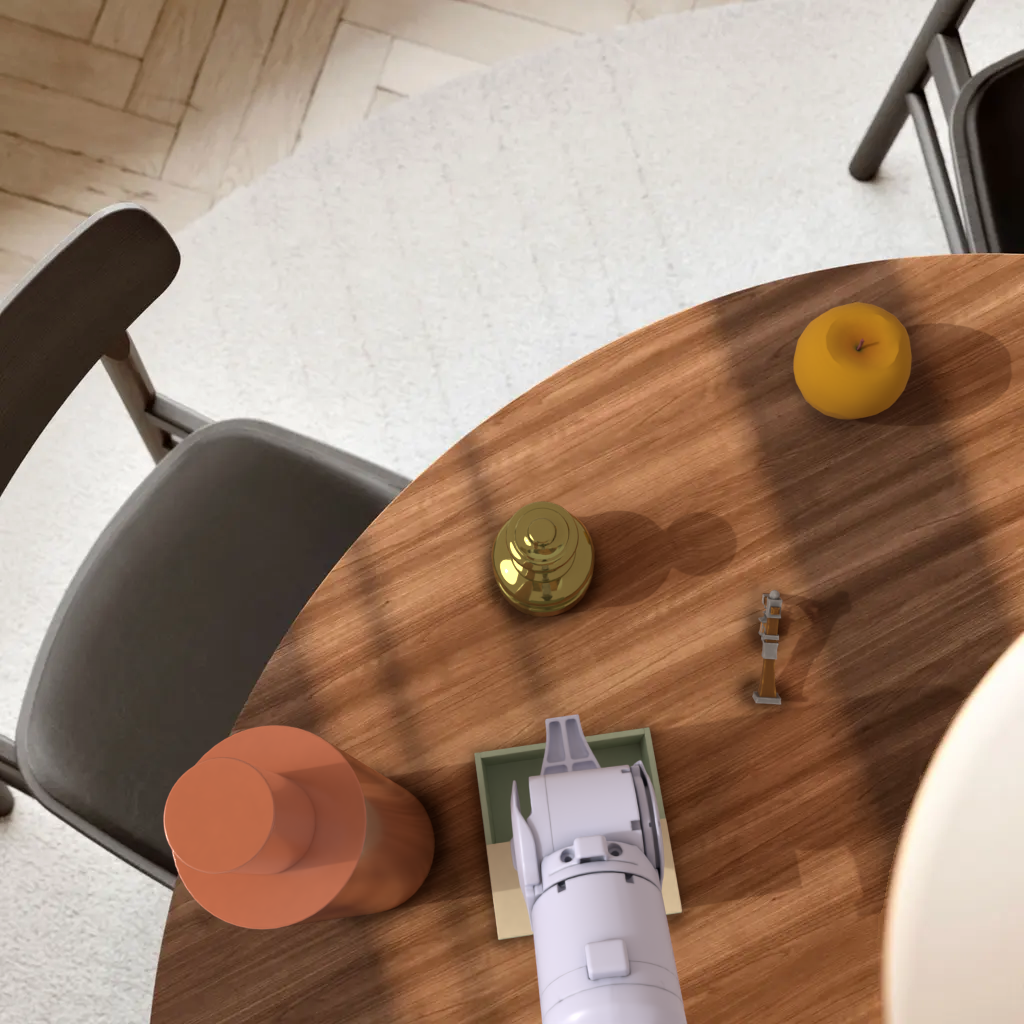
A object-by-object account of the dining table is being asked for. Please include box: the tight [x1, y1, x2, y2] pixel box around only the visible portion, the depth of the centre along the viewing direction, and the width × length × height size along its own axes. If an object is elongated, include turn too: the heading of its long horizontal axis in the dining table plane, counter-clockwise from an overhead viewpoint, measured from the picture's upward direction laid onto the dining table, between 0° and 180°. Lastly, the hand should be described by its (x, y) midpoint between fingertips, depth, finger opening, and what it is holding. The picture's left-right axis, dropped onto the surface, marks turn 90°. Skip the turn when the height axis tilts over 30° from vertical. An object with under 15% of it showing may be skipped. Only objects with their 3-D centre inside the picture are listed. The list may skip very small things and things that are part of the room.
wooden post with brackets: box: [751, 589, 783, 705], centre depth 83 cm, size 2×8×4 cm, turn 176°
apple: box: [793, 301, 913, 420], centre depth 86 cm, size 8×8×9 cm
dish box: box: [473, 726, 683, 941], centre depth 78 cm, size 12×12×6 cm
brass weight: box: [491, 500, 596, 618], centre depth 82 cm, size 7×7×10 cm
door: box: [485, 817, 683, 940], centre depth 74 cm, size 6×12×1 cm, turn 98°
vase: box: [163, 724, 436, 930], centre depth 63 cm, size 9×9×38 cm
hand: (579, 848), depth 74 cm, fingers closed, pressing on door
